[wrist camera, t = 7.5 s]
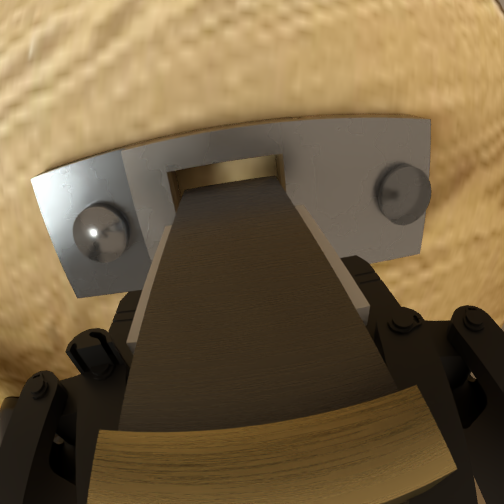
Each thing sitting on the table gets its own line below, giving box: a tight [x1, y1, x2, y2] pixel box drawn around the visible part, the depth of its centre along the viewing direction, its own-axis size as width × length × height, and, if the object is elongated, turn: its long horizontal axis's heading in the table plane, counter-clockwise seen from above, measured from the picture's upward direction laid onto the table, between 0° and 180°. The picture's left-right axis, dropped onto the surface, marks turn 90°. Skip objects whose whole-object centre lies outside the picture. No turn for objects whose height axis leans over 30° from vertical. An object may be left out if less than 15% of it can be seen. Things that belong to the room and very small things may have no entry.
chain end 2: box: [121, 114, 431, 264], centre depth 16 cm, size 17×9×3 cm, turn 97°
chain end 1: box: [31, 117, 295, 298], centre depth 17 cm, size 16×9×2 cm, turn 97°
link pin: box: [87, 176, 457, 504], centre depth 9 cm, size 5×5×13 cm
